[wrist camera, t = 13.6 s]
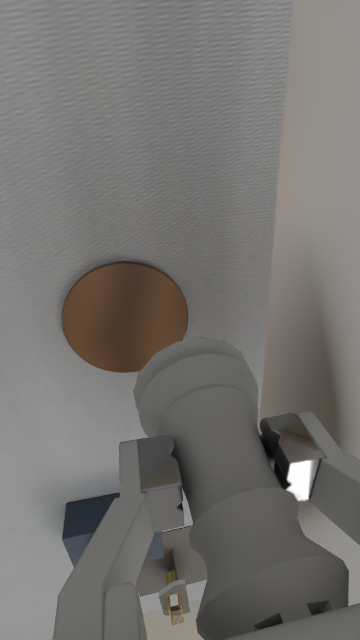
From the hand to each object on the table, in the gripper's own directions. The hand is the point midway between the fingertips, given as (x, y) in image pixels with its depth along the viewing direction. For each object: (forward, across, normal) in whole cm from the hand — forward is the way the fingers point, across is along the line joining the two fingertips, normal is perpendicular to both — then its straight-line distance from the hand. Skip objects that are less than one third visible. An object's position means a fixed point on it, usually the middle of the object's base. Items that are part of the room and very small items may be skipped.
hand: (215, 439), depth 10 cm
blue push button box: (+19, +7, +35) cm, 41 cm away
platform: (+19, +1, +51) cm, 54 cm away
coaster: (+19, +3, +6) cm, 20 cm away
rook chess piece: (+3, 0, 0) cm, 3 cm away
